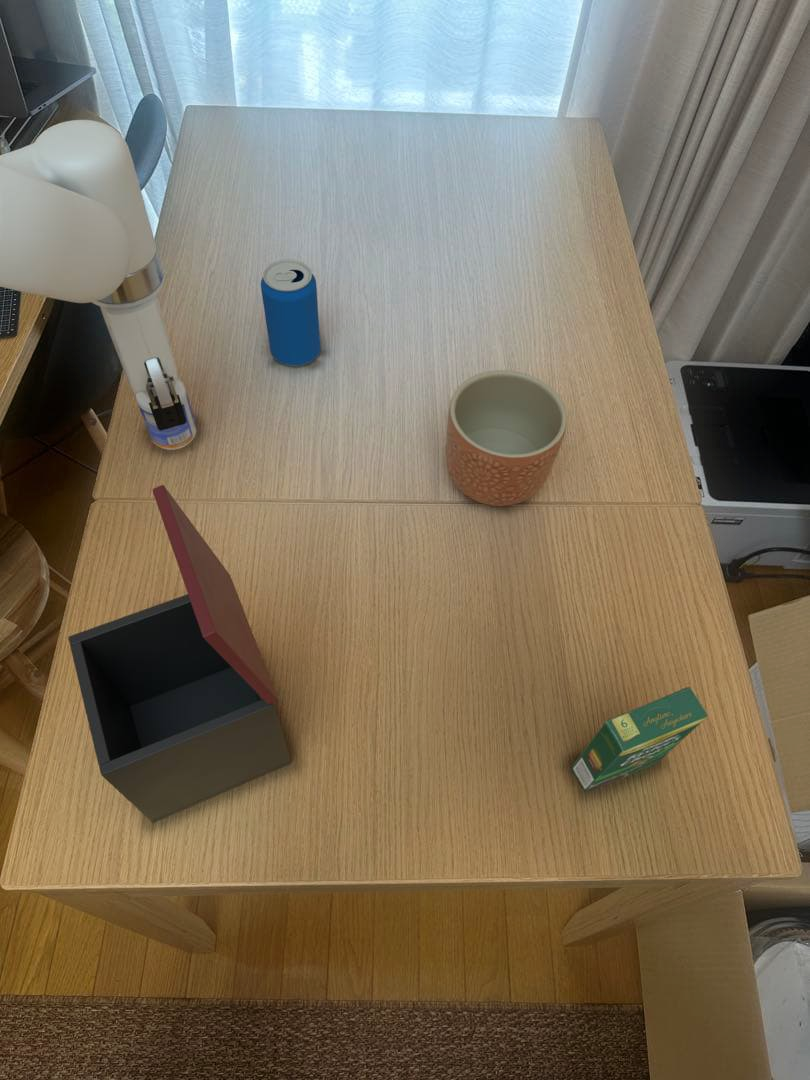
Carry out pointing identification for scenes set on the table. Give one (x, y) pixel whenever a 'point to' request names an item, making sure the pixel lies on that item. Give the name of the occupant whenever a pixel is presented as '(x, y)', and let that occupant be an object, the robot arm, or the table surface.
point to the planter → (503, 436)
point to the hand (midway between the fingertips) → (164, 405)
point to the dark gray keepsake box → (171, 711)
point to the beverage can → (291, 312)
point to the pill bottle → (174, 435)
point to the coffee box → (638, 739)
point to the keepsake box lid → (214, 597)
